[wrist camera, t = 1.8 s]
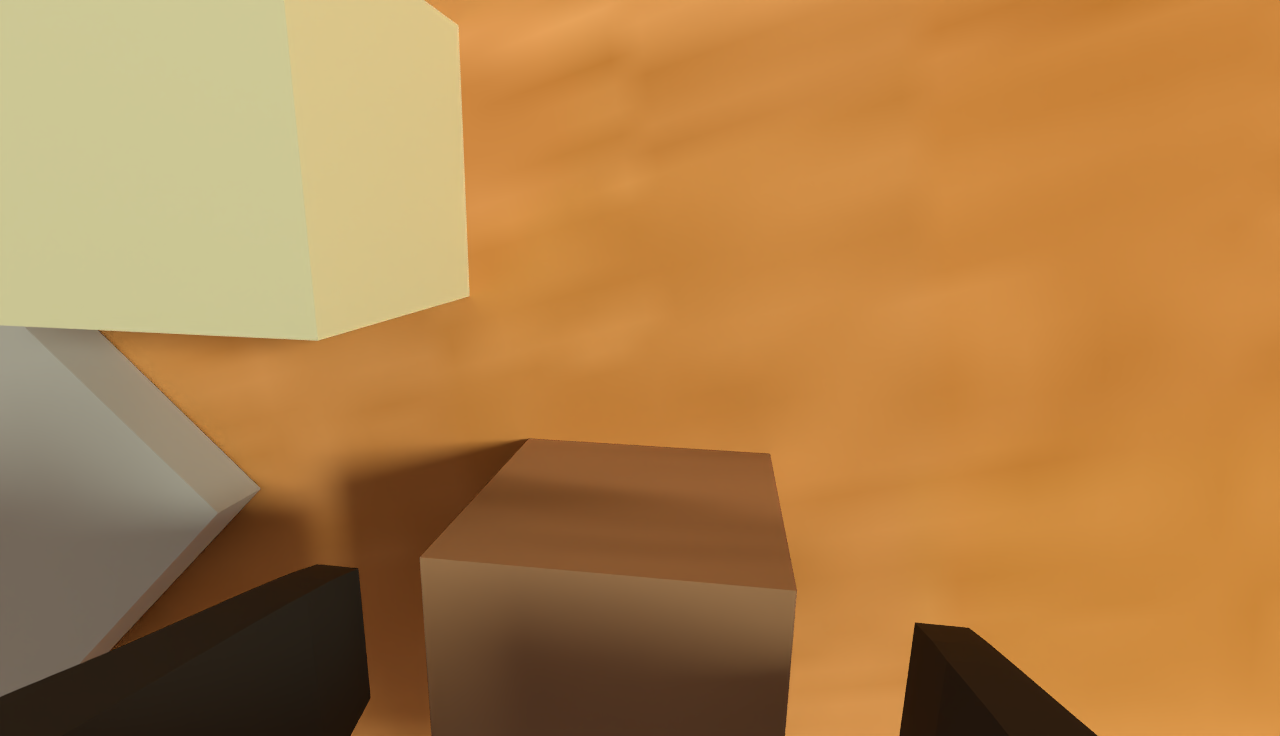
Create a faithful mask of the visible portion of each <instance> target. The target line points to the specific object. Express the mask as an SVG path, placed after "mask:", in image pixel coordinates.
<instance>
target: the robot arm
mask: <svg viewBox="0 0 1280 736" xmlns="http://www.w3.org/2000/svg"><path fill="white" fill-rule="evenodd" d="M369 700H370V687H369V677H368V666H367V655H366V645H365V634H364V623H363V613H362V602H361V592H360V581H359V570H358V568H349V567H339V566H328V565H318V564H317V565H314V566H311V567H308V568H305V569H302V570H299V571H296V572H293V573H291V574H288V575H285V576H283V577H280V578H278V579H275V580H273V581H271V582H268V583H266V584H263V585H261V586H259V587H256V588H254V589H252V590H249V591H247V592H245V593H242V594H240V595H238V596H235V597H233V598H231V599H228V600H226V601H224V602H222V603H219V604H217V605H215V606H213V607H210V608H208V609H206V610H203V611H201V612H199V613H197V614H194V615H192V616H190V617H188V618H185V619H183V620H181V621H178V622H176V623H174V624H172V625H169V626H167V627H165V628H163V629H160V630H158V631H156V632H153V633H151V634H149V635H147V636H144V637H142V638H140V639H138V640H135V641H133V642H131V643H128V644H126V645H124V646H121V647H119V648H117V649H114V650H112V651H109V652H107V653H105V654H102V655H100V656H97V657H95V658H93V659H90V660H88V661H85V662H83V663H80V664H78V665H76V666H73V667H71V668H68V669H66V670H64V671H61V672H59V673H56V674H54V675H51V676H49V677H47V678H44V679H42V680H39V681H37V682H35V683H32V684H30V685H27V686H25V687H22V688H20V689H18V690H15V691H13V692H10V693H8V694H5V695H3V696H1V697H0V736H351V734H352V732H353V730H354V728H355V726H356V724H357V722H358V720H359V719H360V717H361V715H362V713H363V711H364V709H365V707H366V705H367V703H368V702H369ZM900 736H1097V735H1096V734H1095V733H1094V732H1093V731H1091V730H1090V729H1089V728H1088V727H1087V726H1085V725H1084V724H1083V723H1082V722H1081V721H1080V720H1078V719H1077V718H1076V717H1075V716H1074V715H1072V714H1071V713H1070V712H1069V711H1068V710H1067V709H1065V708H1064V707H1063V706H1062V705H1061V704H1059V703H1058V702H1057V701H1056V700H1055V699H1054V698H1052V697H1051V696H1050V695H1049V694H1048V693H1047V692H1045V691H1044V690H1043V689H1042V688H1041V687H1040V686H1038V685H1037V684H1036V683H1035V682H1034V681H1033V680H1031V679H1030V678H1029V677H1028V676H1027V675H1026V674H1024V673H1023V672H1022V671H1021V670H1020V669H1019V668H1017V667H1016V666H1015V665H1014V664H1013V663H1011V662H1010V661H1009V660H1008V659H1007V658H1006V657H1004V656H1003V655H1002V654H1001V653H1000V652H998V651H997V650H996V649H995V648H994V647H992V646H991V645H990V644H989V643H987V642H986V641H985V640H984V639H983V638H981V637H980V636H979V635H977V634H976V633H975V632H973V631H972V630H971V629H970V628H965V627H955V626H944V625H934V624H924V623H915V627H914V634H913V642H912V649H911V656H910V663H909V671H908V678H907V685H906V692H905V700H904V707H903V714H902V721H901V729H900Z"/></svg>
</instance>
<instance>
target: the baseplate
mask: <svg viewBox="0 0 1280 736" xmlns="http://www.w3.org/2000/svg"><path fill="white" fill-rule="evenodd" d="M260 489H261V488H260V487H259V486H258V485H257V484H256V483H255V482H254V481H252V480H251V479H250V478H249V477H248V476H247V475H246V474H245V473H244V472H243V471H242V470H241V469H240V468H239V467H238V466H237V465H236V464H235V463H234V462H233V461H232V460H231V459H230V458H229V457H228V456H227V455H226V454H225V453H224V452H223V451H222V450H221V449H220V448H219V447H218V446H216V445H215V444H214V443H213V442H212V441H211V440H210V439H209V438H208V437H207V436H206V435H205V434H204V433H203V432H202V431H201V430H200V429H199V428H198V427H197V426H196V425H195V424H194V423H193V422H192V421H191V420H190V419H189V418H188V417H187V416H186V415H185V414H184V413H183V412H182V411H180V410H179V409H178V408H177V407H176V406H175V405H174V404H173V403H172V402H171V401H170V400H169V399H168V398H167V397H166V396H165V395H164V394H163V393H162V392H161V391H160V390H159V389H158V388H157V387H156V386H155V385H154V384H153V383H152V382H151V381H150V380H149V379H148V378H147V377H146V376H144V375H143V374H142V373H141V372H140V371H139V370H138V369H137V368H136V367H135V366H134V365H133V364H132V363H131V362H130V361H129V360H128V359H127V358H126V357H125V356H124V355H123V354H122V353H121V352H120V351H119V350H118V349H117V348H116V347H115V346H114V345H113V344H112V343H111V342H110V341H108V340H107V339H106V338H105V337H104V336H103V335H102V334H101V333H100V332H99V331H98V330H87V329H66V328H45V327H24V326H3V325H0V697H1V696H3V695H5V694H8V693H10V692H13V691H15V690H18V689H20V688H22V687H25V686H27V685H30V684H32V683H35V682H37V681H39V680H42V679H44V678H47V677H49V676H51V675H54V674H56V673H59V672H61V671H64V670H66V669H68V668H71V667H73V666H76V665H78V664H80V663H83V662H85V661H88V660H90V659H93V658H95V657H97V656H100V655H102V654H105V653H107V652H109V651H110V650H111V649H112V648H113V647H114V646H115V644H116V643H117V642H118V641H119V640H120V639H121V638H122V637H123V636H124V635H125V634H126V633H127V632H128V631H129V629H130V628H131V627H132V626H133V625H134V624H135V623H136V622H137V621H138V620H139V619H140V618H141V617H142V616H143V614H144V613H145V612H146V611H147V610H148V609H149V608H150V607H151V606H152V605H153V604H154V603H155V602H156V601H157V599H158V598H159V597H160V596H161V595H162V594H163V593H164V592H165V591H166V590H167V589H168V588H169V587H170V586H171V584H172V583H173V582H174V581H175V580H176V579H177V578H178V577H179V576H180V575H181V574H182V573H183V572H184V570H185V569H186V568H187V567H188V566H189V565H190V564H191V563H192V562H193V561H194V560H195V559H196V558H197V557H198V555H199V554H200V553H201V552H202V551H203V550H204V549H205V548H206V547H207V546H208V545H209V544H210V543H211V542H212V540H213V539H214V538H215V537H216V536H217V535H218V534H219V533H220V532H221V531H222V530H223V529H224V528H225V527H226V525H227V524H228V523H229V522H230V521H231V520H232V519H233V518H234V517H235V516H236V515H237V514H238V513H239V512H240V510H241V509H242V508H243V507H244V506H245V505H246V504H247V503H248V502H249V501H250V500H251V499H252V498H253V497H254V495H255V494H256V493H257V492H258V491H259V490H260Z"/></svg>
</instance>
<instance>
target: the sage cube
mask: <svg viewBox="0 0 1280 736" xmlns="http://www.w3.org/2000/svg"><path fill="white" fill-rule="evenodd" d="M465 297H469V272H468V248H467V223H466V199H465V175H464V150H463V126H462V102H461V77H460V53H459V29H458V25H457V24H456V23H454V22H453V21H452V20H450V19H449V18H448V17H446V16H445V15H443V14H442V13H441V12H439V11H438V10H437V9H435V8H434V7H433V6H431V5H430V4H428V3H427V2H426V1H424V0H0V325H3V326H24V327H45V328H66V329H87V330H108V331H129V332H149V333H170V334H191V335H212V336H233V337H254V338H275V339H296V340H316V341H318V340H322V339H325V338H328V337H332V336H335V335H339V334H342V333H346V332H349V331H352V330H356V329H359V328H363V327H366V326H370V325H373V324H376V323H380V322H383V321H387V320H390V319H393V318H397V317H400V316H404V315H407V314H411V313H414V312H417V311H421V310H424V309H428V308H431V307H434V306H438V305H441V304H445V303H448V302H452V301H455V300H458V299H462V298H465Z"/></svg>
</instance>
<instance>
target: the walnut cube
mask: <svg viewBox="0 0 1280 736" xmlns="http://www.w3.org/2000/svg"><path fill="white" fill-rule="evenodd" d="M420 571H421V586H422V601H423V616H424V631H425V646H426V660H427V675H428V690H429V705H430V720H431V735H432V736H785V727H786V715H787V703H788V691H789V679H790V667H791V655H792V643H793V631H794V619H795V607H796V594H797V589H796V584H795V579H794V574H793V569H792V564H791V559H790V554H789V548H788V543H787V538H786V533H785V528H784V523H783V518H782V513H781V508H780V503H779V497H778V492H777V487H776V482H775V477H774V472H773V467H772V462H771V457H770V454H766V453H750V452H734V451H718V450H702V449H687V448H671V447H655V446H639V445H623V444H608V443H592V442H576V441H560V440H544V439H528V440H527V441H526V442H525V443H524V444H523V446H522V447H521V448H520V449H519V450H518V451H517V452H516V453H515V454H514V455H513V456H512V457H511V459H510V460H509V461H508V462H507V463H506V464H505V465H504V466H503V467H502V468H501V469H500V470H499V472H498V473H497V474H496V475H495V476H494V477H493V478H492V479H491V480H490V481H489V482H488V484H487V485H486V486H485V487H484V488H483V489H482V490H481V491H480V492H479V493H478V494H477V495H476V497H475V498H474V499H473V500H472V501H471V502H470V503H469V504H468V505H467V506H466V507H465V509H464V510H463V511H462V512H461V513H460V514H459V515H458V516H457V517H456V518H455V519H454V520H453V522H452V523H451V524H450V525H449V526H448V527H447V528H446V529H445V530H444V531H443V532H442V534H441V535H440V536H439V537H438V538H437V539H436V540H435V541H434V542H433V543H432V544H431V545H430V547H429V548H428V549H427V550H426V551H425V552H424V553H423V554H422V555H421V556H420Z"/></svg>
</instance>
